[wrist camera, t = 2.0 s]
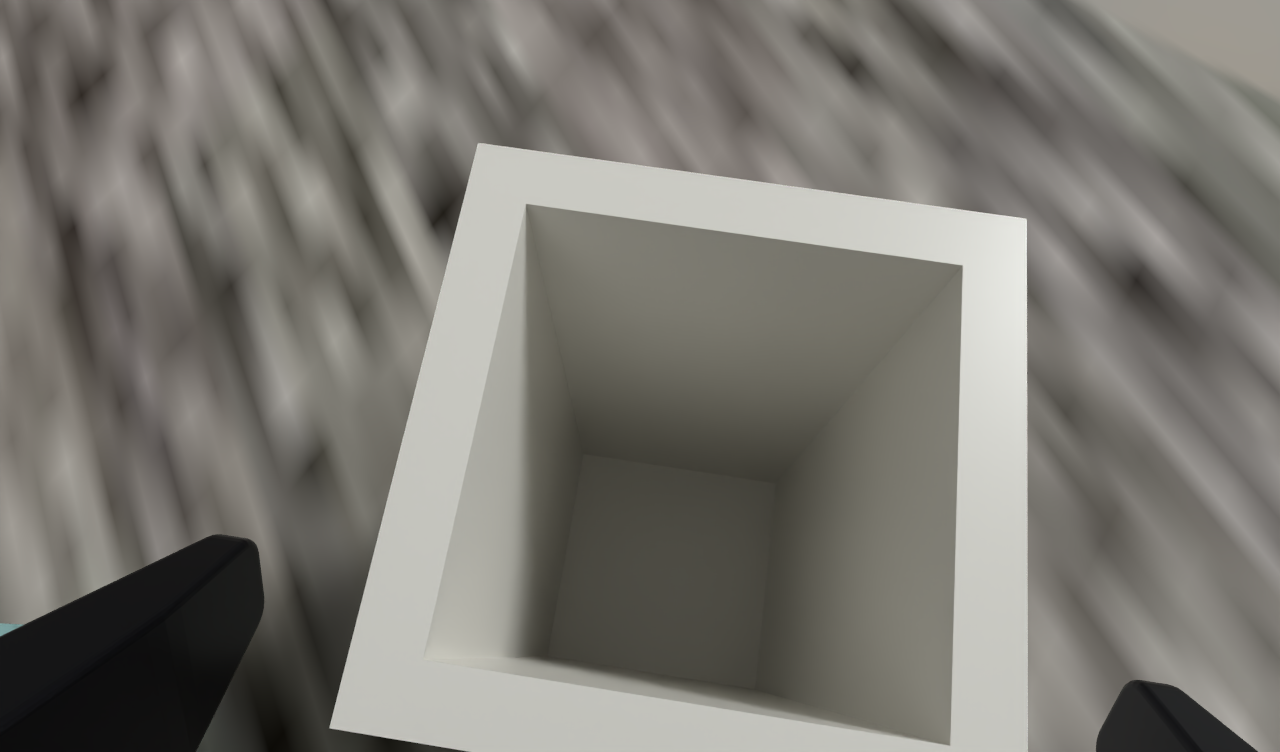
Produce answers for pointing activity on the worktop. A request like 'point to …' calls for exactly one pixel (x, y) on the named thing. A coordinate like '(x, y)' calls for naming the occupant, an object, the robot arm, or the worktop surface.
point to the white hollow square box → (706, 475)
